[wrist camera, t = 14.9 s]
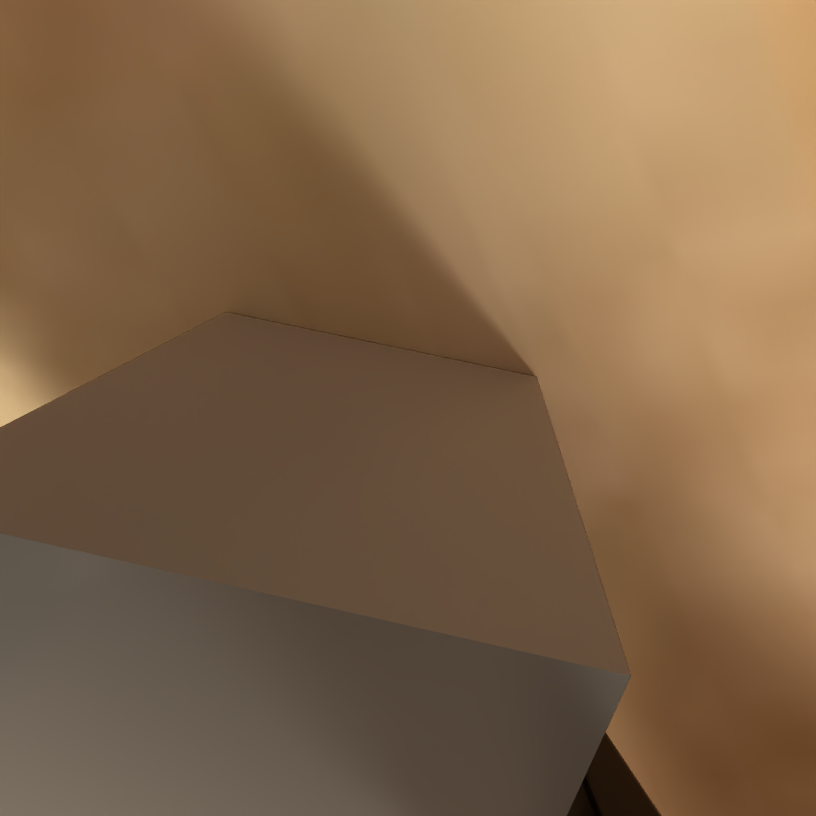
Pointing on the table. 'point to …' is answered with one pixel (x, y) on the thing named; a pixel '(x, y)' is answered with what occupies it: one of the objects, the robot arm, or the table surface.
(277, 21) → the table surface
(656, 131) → the table surface
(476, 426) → the grey cube
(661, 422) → the table surface
